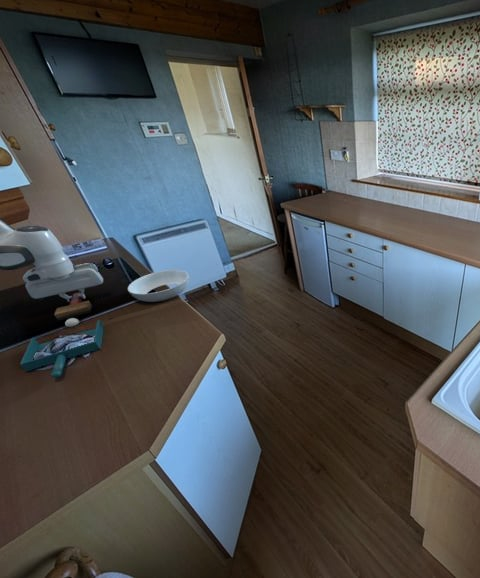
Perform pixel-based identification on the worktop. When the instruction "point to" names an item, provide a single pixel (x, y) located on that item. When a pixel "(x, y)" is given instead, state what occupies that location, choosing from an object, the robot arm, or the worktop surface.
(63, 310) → the brush
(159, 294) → the serving bowl
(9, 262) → the robot arm
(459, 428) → the worktop surface
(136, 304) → the worktop surface
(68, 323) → the paper wad
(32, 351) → the dustpan
